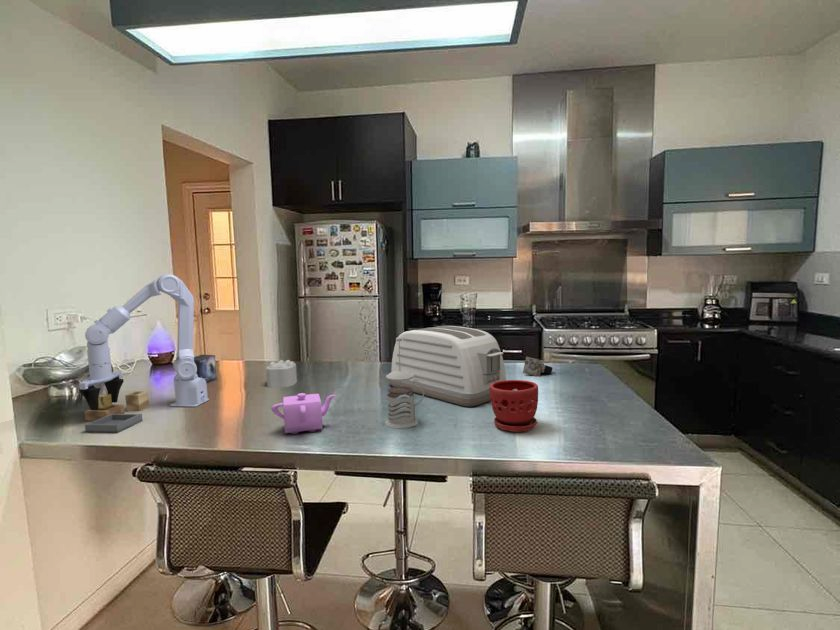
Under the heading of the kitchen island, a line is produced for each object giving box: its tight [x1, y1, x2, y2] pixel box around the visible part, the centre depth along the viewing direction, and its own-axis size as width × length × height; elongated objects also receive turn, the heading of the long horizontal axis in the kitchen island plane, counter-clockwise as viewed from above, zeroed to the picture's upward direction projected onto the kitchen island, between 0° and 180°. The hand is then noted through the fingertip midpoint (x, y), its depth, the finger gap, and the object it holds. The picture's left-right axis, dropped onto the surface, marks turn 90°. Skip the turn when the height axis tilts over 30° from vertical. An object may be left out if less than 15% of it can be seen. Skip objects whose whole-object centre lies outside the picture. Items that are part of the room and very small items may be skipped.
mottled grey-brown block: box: [522, 356, 553, 378], centre depth 188 cm, size 7×11×10 cm
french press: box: [384, 336, 425, 429], centre depth 133 cm, size 10×12×25 cm
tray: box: [84, 413, 144, 434], centre depth 137 cm, size 10×10×2 cm
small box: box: [194, 354, 218, 384], centre depth 187 cm, size 11×6×10 cm, turn 168°
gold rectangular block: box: [98, 393, 113, 410], centre depth 146 cm, size 3×3×7 cm
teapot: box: [270, 392, 337, 435], centre depth 130 cm, size 18×14×10 cm
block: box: [124, 390, 150, 412], centre depth 153 cm, size 4×4×6 cm
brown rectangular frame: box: [84, 403, 125, 422], centre depth 146 cm, size 7×7×3 cm
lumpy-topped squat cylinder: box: [265, 359, 298, 388], centre depth 183 cm, size 10×13×9 cm
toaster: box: [388, 325, 507, 408], centre depth 166 cm, size 23×45×22 cm, turn 43°
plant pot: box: [490, 379, 539, 433], centre depth 128 cm, size 13×13×12 cm
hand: (104, 405), depth 146 cm, fingers open, 7 cm apart
